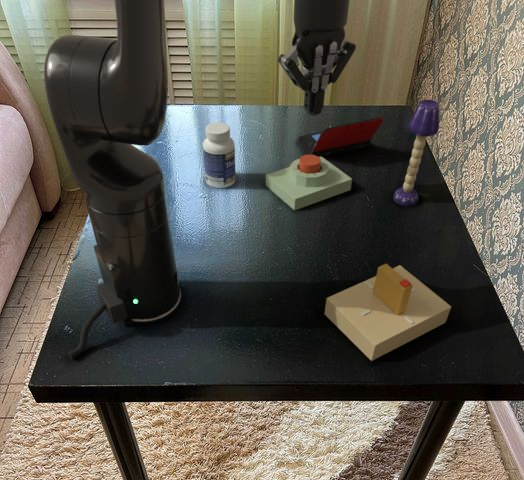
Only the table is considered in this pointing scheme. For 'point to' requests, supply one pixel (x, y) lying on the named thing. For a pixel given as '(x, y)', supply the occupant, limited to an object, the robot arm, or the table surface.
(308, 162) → the bell button
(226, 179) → the pill bottle
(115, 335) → the table surface
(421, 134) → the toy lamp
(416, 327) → the plate
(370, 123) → the handheld game console
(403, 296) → the lock knob
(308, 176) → the pale green button base
